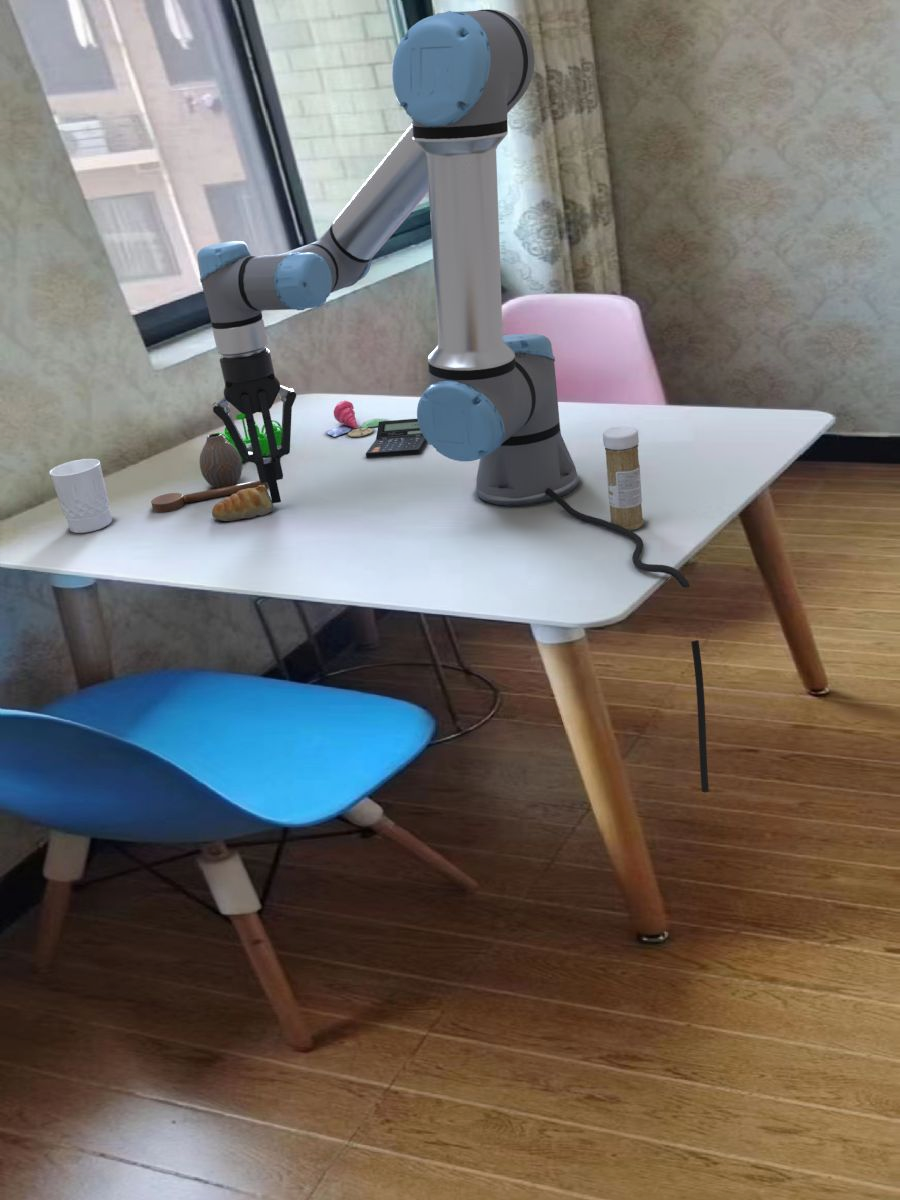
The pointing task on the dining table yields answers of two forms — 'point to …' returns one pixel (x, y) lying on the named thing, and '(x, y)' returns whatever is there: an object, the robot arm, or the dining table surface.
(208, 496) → the wooden spoon
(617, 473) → the sprinkles bottle
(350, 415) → the toy pieces
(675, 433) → the dining table surface
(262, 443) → the chandelier
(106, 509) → the white cup
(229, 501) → the pastry
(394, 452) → the calculator
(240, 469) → the vase
